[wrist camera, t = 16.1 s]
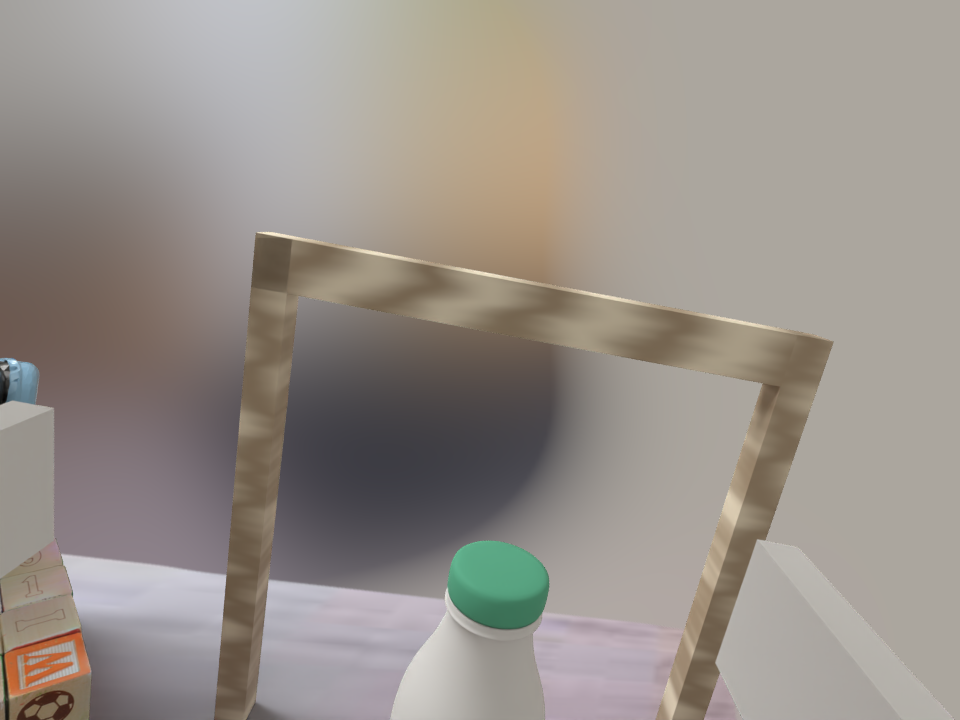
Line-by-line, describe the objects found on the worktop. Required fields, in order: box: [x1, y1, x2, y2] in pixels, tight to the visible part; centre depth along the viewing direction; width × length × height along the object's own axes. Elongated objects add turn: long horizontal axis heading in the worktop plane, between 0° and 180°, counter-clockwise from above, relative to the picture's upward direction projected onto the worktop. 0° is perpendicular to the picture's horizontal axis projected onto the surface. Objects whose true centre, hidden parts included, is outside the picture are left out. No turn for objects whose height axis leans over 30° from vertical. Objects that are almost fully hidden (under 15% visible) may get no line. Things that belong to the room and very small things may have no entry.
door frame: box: [214, 232, 833, 720], centre depth 36 cm, size 32×2×33 cm, turn 88°
